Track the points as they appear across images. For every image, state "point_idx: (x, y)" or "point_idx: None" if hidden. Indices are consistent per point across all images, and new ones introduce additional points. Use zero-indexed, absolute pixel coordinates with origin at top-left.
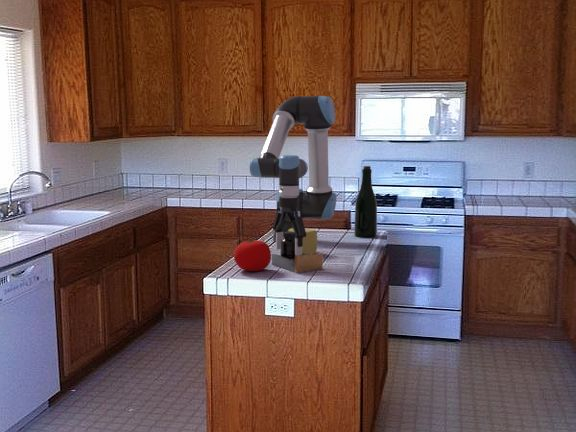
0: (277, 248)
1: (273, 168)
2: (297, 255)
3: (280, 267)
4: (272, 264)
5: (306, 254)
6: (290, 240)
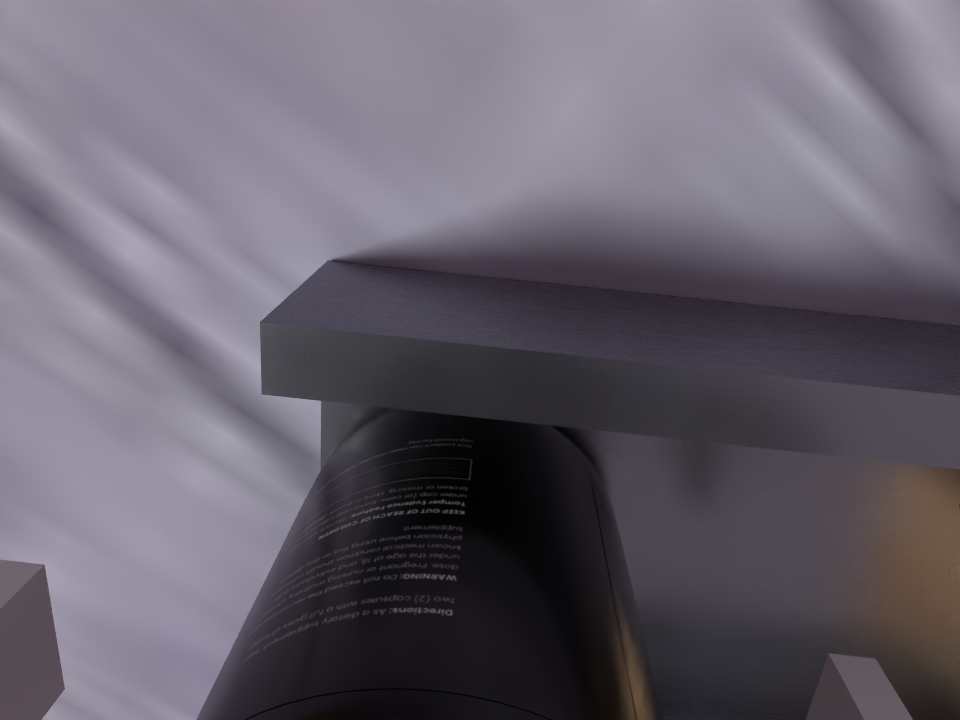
0: (51, 697)
1: None
2: (619, 560)
3: None
4: None
5: (745, 410)
6: None
